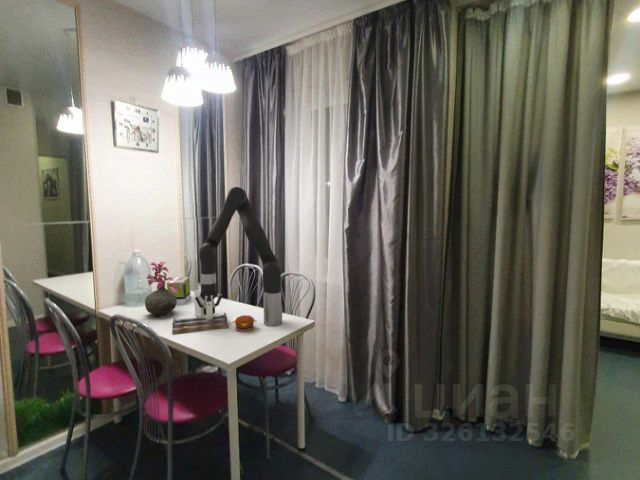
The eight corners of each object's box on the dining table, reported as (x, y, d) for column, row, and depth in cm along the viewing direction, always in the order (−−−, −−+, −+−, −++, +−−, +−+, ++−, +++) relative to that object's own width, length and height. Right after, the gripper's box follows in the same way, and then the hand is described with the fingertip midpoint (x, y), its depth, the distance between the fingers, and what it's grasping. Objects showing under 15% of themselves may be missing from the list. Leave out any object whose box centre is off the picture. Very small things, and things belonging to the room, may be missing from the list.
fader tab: (212, 319, 175) (211, 302, 174) (212, 322, 170) (212, 304, 169) (206, 319, 174) (205, 302, 173) (206, 322, 169) (206, 305, 168)
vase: (148, 311, 193) (146, 260, 190) (180, 308, 198) (178, 259, 195) (142, 320, 177) (140, 265, 174) (177, 317, 183) (175, 264, 179)
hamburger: (231, 329, 166) (231, 317, 165) (244, 324, 174) (244, 312, 174) (244, 333, 161) (244, 320, 160) (258, 327, 169) (258, 315, 169)
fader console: (225, 318, 182) (225, 310, 181) (227, 327, 169) (227, 319, 168) (174, 324, 173) (173, 315, 172) (172, 334, 160) (171, 325, 159)
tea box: (175, 298, 219) (174, 276, 217) (191, 298, 220) (190, 276, 218) (167, 305, 204) (166, 282, 202) (184, 305, 205) (183, 281, 204)
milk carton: (212, 315, 187) (212, 282, 185) (201, 318, 182) (200, 284, 180) (206, 312, 192) (205, 280, 190) (194, 315, 187) (193, 282, 185)
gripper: (222, 279, 176) (222, 310, 178) (193, 281, 171) (194, 313, 173) (223, 282, 169) (223, 315, 171) (193, 284, 164) (194, 318, 166)
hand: (209, 314), depth 172 cm, fingers closed on fader tab, 3 cm apart
